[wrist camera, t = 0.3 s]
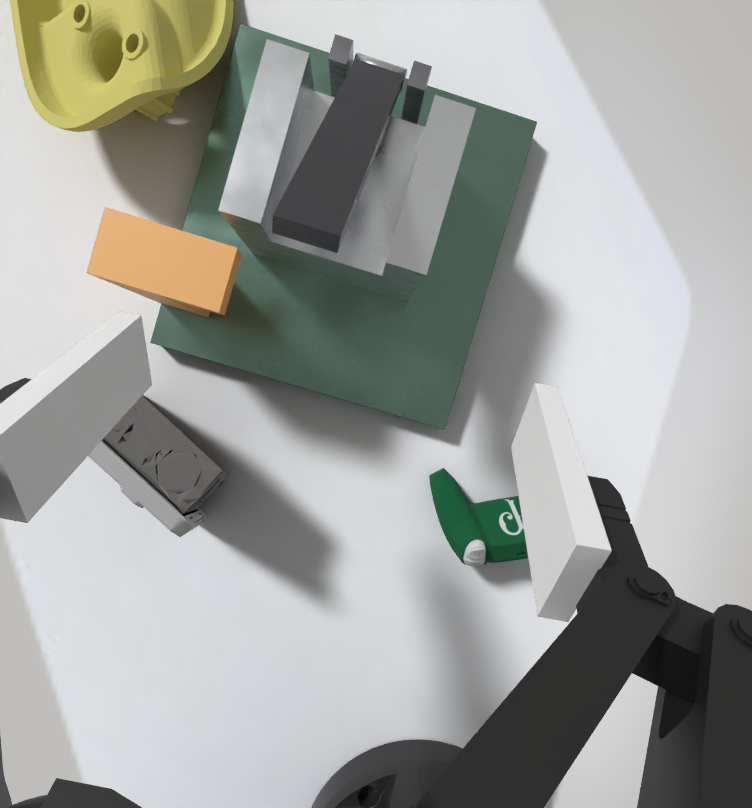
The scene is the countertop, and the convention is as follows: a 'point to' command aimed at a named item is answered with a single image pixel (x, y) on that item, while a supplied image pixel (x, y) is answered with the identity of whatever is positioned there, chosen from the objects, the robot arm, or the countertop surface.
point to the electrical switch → (159, 467)
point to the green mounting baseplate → (351, 234)
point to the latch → (164, 263)
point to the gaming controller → (478, 524)
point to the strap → (340, 156)
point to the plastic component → (115, 55)
